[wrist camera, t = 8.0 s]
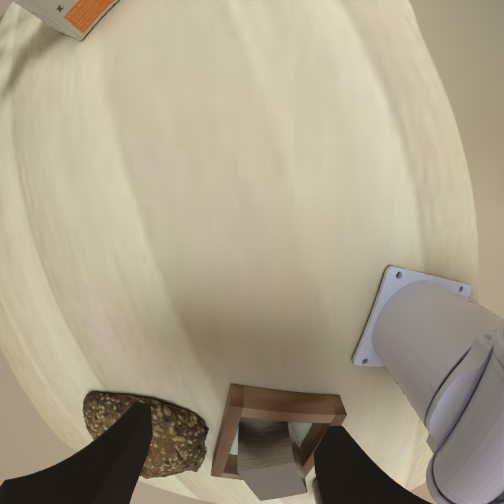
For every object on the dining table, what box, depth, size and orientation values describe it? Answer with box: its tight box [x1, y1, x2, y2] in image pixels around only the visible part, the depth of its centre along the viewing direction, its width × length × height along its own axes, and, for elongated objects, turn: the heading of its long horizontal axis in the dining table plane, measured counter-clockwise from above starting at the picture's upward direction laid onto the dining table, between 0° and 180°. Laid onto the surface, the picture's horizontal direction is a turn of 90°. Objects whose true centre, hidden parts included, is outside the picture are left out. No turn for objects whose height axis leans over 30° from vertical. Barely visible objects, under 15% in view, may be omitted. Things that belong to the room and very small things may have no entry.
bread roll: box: [83, 392, 209, 479], centre depth 19 cm, size 13×12×5 cm
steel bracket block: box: [237, 417, 307, 501], centre depth 18 cm, size 6×4×6 cm, turn 17°
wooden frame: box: [211, 384, 347, 480], centre depth 20 cm, size 9×11×2 cm
